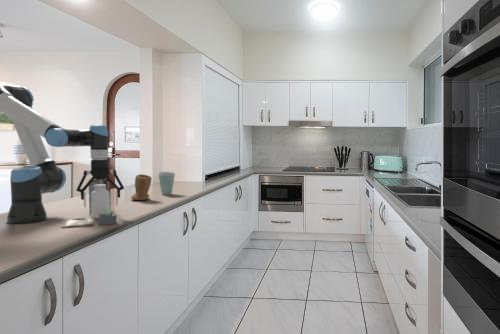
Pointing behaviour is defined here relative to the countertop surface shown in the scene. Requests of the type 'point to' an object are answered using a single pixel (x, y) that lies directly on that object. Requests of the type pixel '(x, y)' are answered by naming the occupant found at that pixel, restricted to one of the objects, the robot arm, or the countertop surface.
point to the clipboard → (78, 222)
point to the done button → (106, 211)
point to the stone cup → (142, 187)
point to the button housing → (107, 219)
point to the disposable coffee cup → (166, 182)
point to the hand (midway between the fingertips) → (101, 205)
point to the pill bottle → (99, 200)
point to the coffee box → (91, 188)
